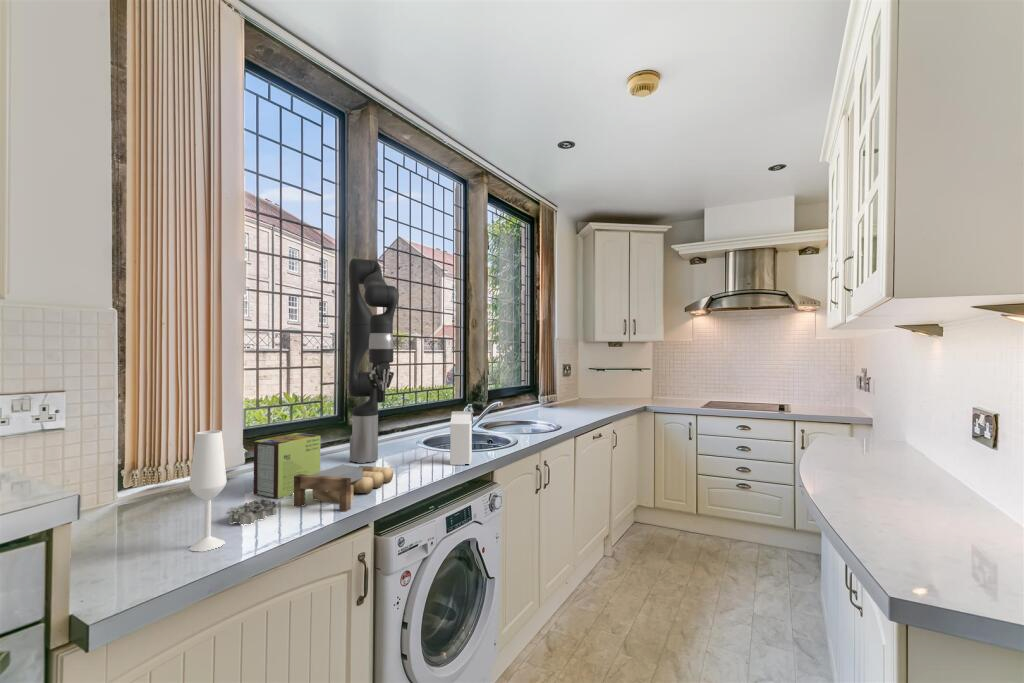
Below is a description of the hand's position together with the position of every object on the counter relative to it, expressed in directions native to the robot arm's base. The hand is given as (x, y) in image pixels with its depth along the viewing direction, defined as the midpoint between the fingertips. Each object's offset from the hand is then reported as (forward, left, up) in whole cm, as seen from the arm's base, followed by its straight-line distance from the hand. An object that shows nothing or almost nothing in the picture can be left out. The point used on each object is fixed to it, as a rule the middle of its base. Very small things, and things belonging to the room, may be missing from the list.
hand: (380, 402), depth 152 cm
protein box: (-22, -15, -25) cm, 37 cm away
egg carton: (-14, -38, -26) cm, 47 cm away
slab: (-4, -18, -21) cm, 28 cm away
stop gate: (-2, -26, -25) cm, 36 cm away
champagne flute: (-10, -54, -25) cm, 60 cm away
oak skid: (-4, -20, -25) cm, 32 cm away
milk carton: (+16, +30, -25) cm, 42 cm away
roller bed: (-2, -6, -25) cm, 26 cm away
